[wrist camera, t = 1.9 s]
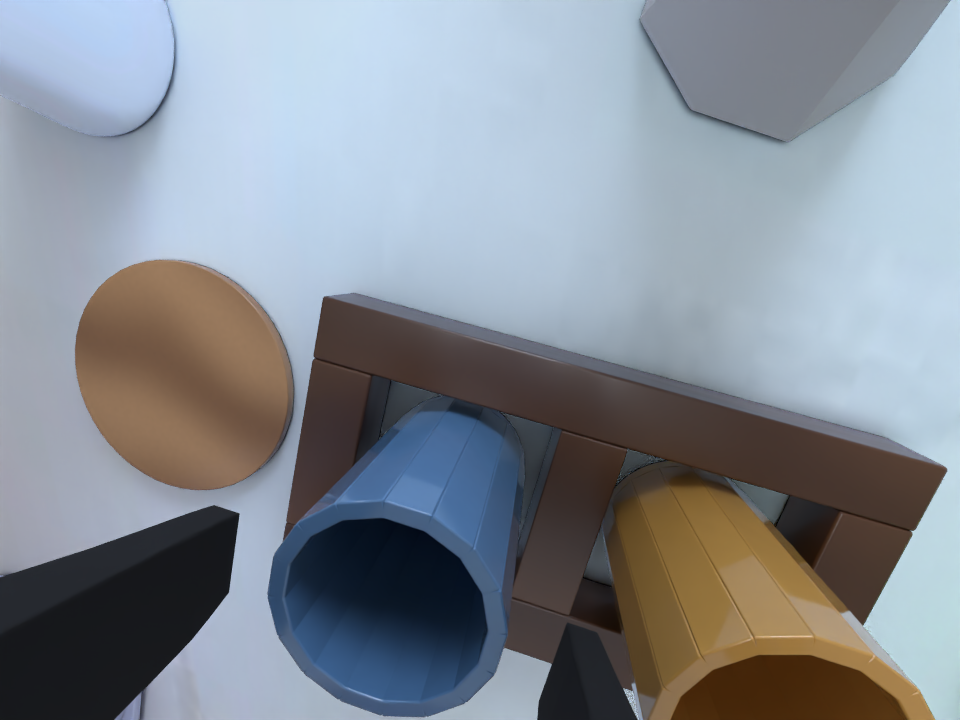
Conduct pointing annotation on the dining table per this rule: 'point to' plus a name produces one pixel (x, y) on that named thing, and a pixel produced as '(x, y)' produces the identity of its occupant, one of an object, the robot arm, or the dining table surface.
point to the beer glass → (87, 60)
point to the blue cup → (408, 565)
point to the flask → (783, 54)
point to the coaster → (184, 374)
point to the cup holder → (606, 457)
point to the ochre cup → (734, 612)
